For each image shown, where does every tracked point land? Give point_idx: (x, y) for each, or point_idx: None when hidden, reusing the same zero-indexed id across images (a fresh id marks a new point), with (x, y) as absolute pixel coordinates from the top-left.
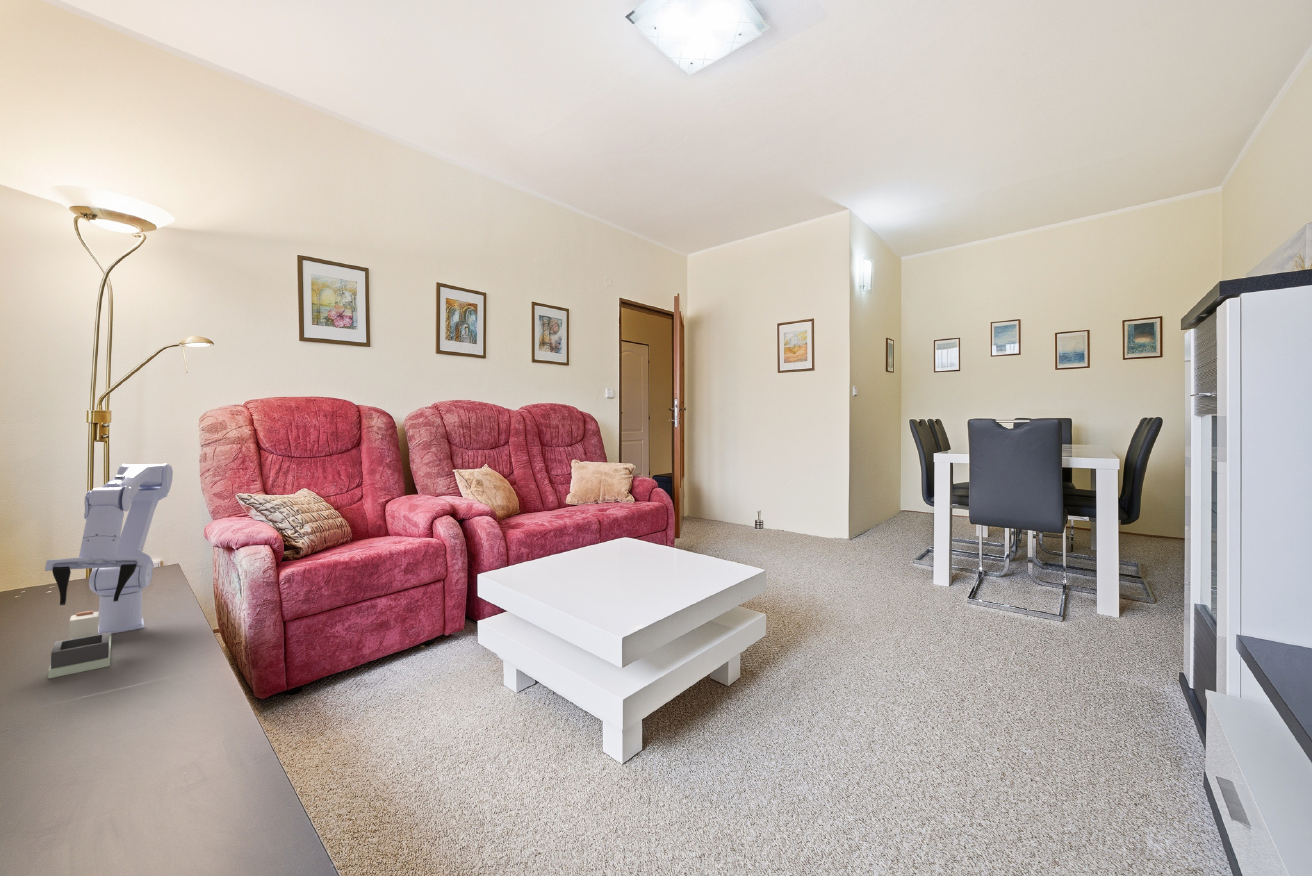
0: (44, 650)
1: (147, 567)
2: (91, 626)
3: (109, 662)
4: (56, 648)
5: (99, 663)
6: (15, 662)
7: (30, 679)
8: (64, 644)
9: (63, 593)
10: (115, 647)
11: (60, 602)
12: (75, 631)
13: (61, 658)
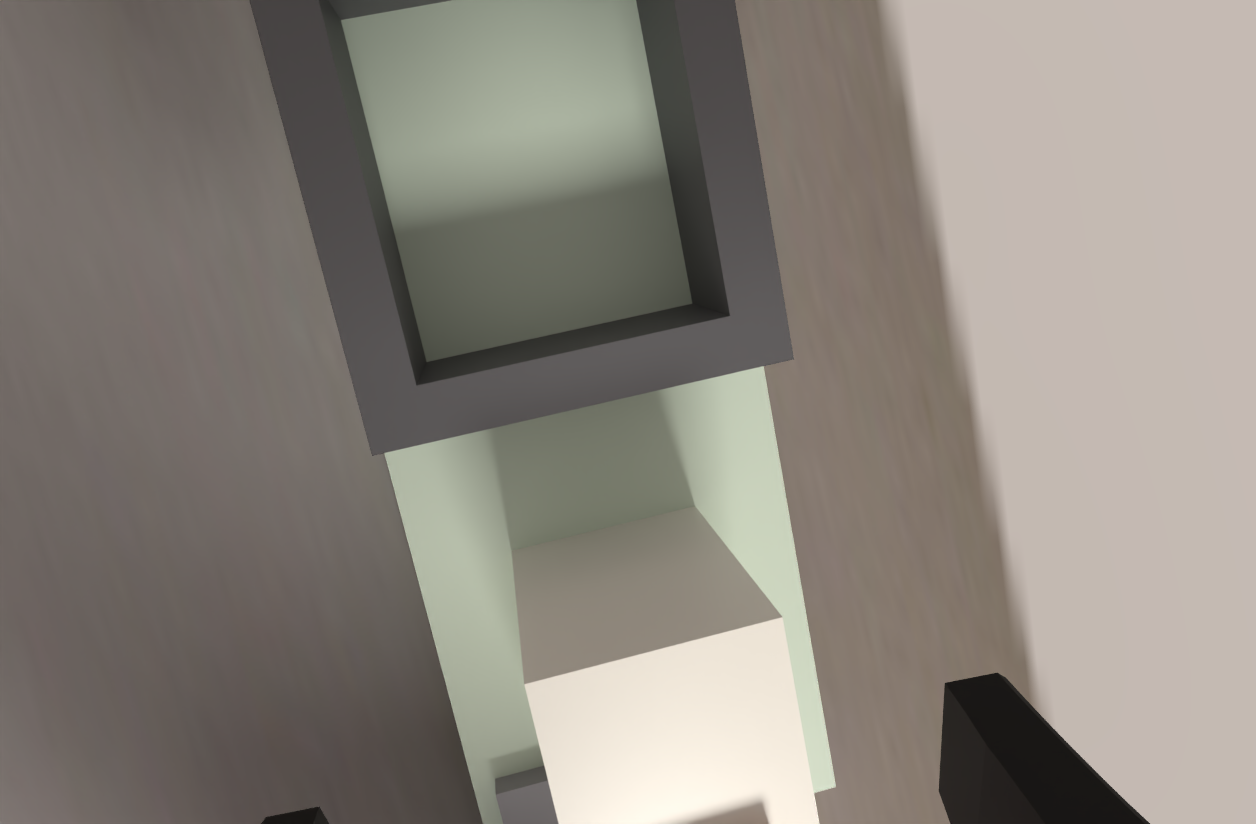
0: (896, 817)
1: None
2: (571, 616)
3: None
4: (708, 23)
5: None
6: (995, 589)
7: (787, 10)
8: (704, 318)
9: (1080, 808)
10: (407, 619)
11: (1009, 682)
12: (694, 575)
13: None
